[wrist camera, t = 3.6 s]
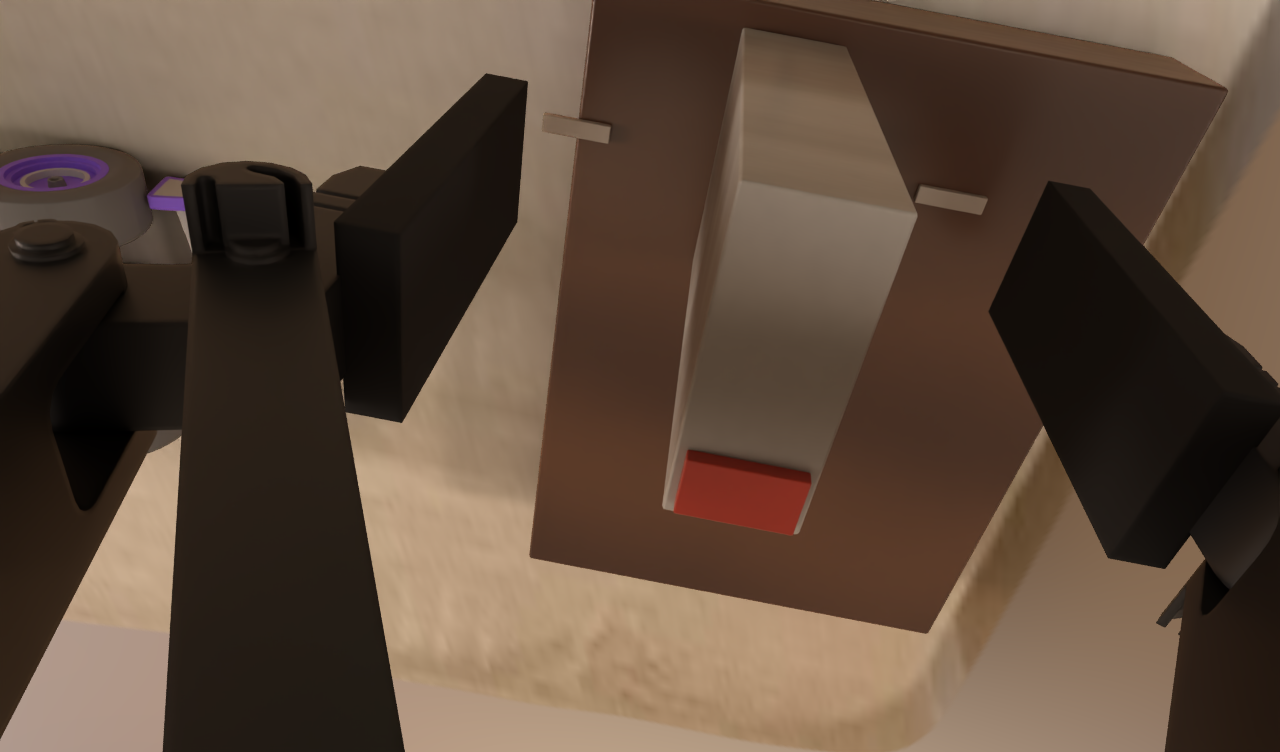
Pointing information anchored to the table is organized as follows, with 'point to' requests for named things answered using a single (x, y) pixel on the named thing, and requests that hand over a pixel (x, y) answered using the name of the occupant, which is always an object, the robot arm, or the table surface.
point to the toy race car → (86, 197)
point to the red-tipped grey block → (782, 284)
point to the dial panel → (910, 320)
